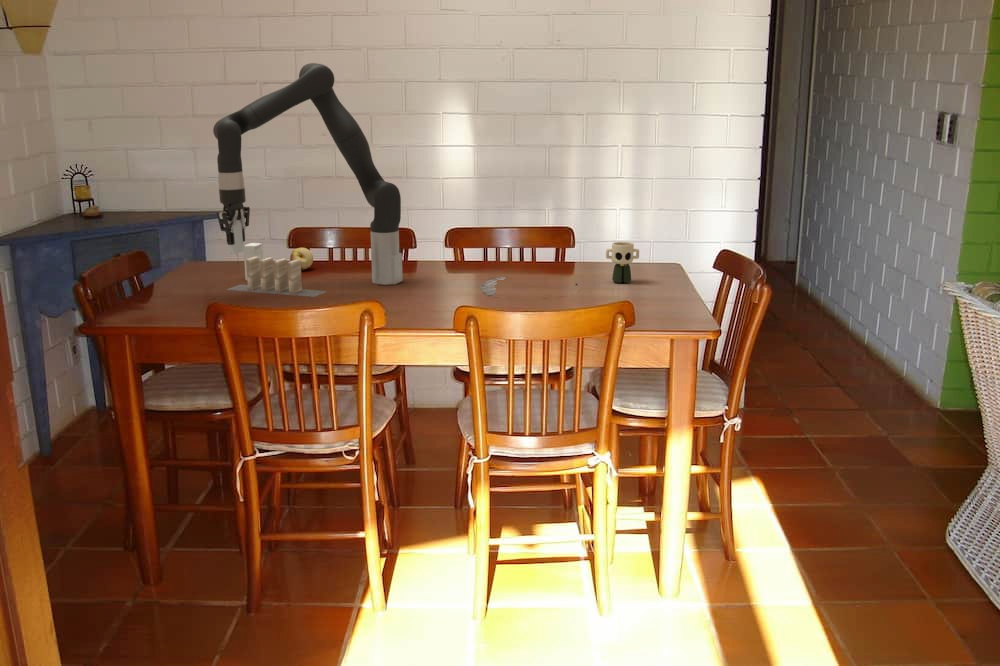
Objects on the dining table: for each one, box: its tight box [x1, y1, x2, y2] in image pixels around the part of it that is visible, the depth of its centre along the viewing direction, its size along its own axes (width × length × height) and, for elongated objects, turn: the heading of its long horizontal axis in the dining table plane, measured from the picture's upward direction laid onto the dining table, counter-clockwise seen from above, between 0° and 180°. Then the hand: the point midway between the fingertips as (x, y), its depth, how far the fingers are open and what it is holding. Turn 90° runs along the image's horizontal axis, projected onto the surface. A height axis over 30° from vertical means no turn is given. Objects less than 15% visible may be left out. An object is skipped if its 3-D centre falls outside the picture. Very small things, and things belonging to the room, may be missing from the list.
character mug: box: [605, 241, 640, 283], centre depth 315 cm, size 11×7×13 cm, turn 89°
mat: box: [226, 283, 328, 298], centre depth 304 cm, size 32×8×1 cm, turn 71°
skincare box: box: [243, 242, 264, 281], centre depth 321 cm, size 6×4×12 cm
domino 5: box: [287, 259, 303, 294], centre depth 301 cm, size 2×5×10 cm, turn 161°
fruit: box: [289, 247, 314, 271], centre depth 337 cm, size 8×8×8 cm
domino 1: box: [228, 219, 245, 255], centre depth 291 cm, size 2×5×10 cm, turn 161°
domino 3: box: [260, 256, 275, 292], centre depth 304 cm, size 2×5×10 cm, turn 161°
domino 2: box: [246, 257, 261, 291], centre depth 305 cm, size 2×5×10 cm, turn 161°
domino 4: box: [273, 257, 289, 293], centre depth 302 cm, size 2×5×10 cm, turn 161°
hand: (236, 242), depth 292 cm, fingers closed on domino 1, 5 cm apart
